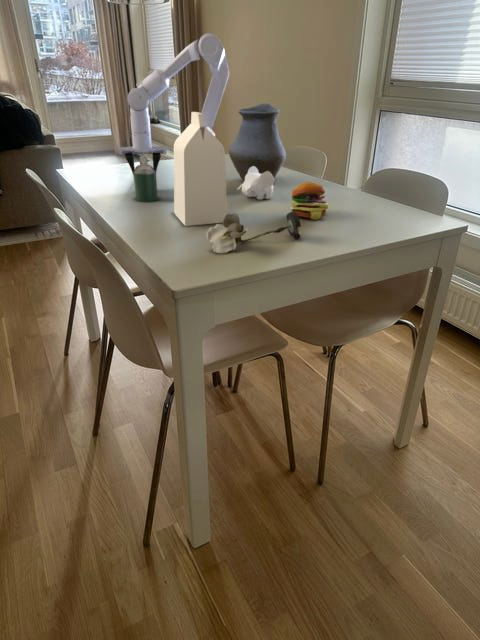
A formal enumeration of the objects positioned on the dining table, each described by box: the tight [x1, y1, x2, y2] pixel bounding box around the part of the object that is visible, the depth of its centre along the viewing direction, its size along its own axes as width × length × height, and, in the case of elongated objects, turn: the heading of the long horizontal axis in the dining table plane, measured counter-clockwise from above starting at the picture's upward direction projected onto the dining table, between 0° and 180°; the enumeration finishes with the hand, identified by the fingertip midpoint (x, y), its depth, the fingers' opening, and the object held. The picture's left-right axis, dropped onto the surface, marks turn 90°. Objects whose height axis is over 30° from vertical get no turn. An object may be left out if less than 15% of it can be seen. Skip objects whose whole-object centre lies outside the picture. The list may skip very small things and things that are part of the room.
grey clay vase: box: [228, 103, 287, 182], centre depth 158 cm, size 21×22×25 cm
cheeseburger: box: [290, 181, 329, 221], centre depth 126 cm, size 10×11×10 cm
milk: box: [173, 111, 228, 227], centre depth 117 cm, size 12×12×26 cm
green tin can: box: [132, 169, 158, 203], centre depth 137 cm, size 7×7×8 cm
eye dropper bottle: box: [135, 153, 153, 170], centre depth 144 cm, size 4×6×12 cm
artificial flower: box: [206, 210, 302, 254], centre depth 104 cm, size 9×22×10 cm, turn 109°
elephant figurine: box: [236, 166, 276, 201], centre depth 140 cm, size 10×12×9 cm
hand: (144, 177), depth 145 cm, fingers closed on eye dropper bottle, 5 cm apart
